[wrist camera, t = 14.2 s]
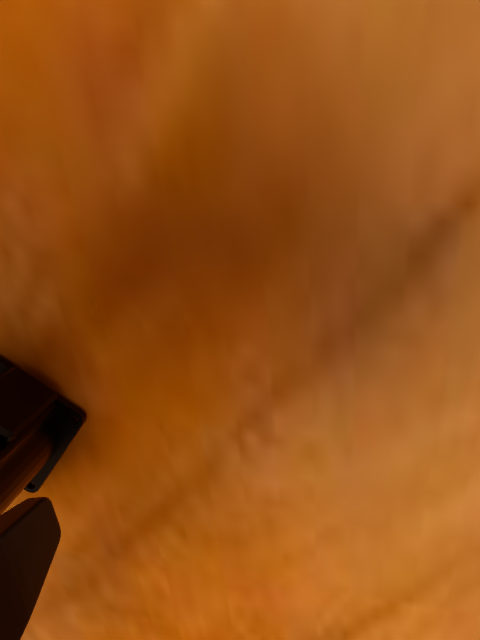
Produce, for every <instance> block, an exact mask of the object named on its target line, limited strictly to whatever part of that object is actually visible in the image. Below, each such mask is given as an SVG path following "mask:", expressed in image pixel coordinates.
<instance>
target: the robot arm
mask: <svg viewBox="0 0 480 640" xmlns="http://www.w3.org/2000/svg"><path fill="white" fill-rule="evenodd" d="M73 416H75V417H77V418H78V420H75V419H74V417H73ZM85 421H86V415H85V413H84V412H83V411H82V410H81V409H79V408H78V407H76V406H75V405H73V404H72V403H70V402H69V401H67V400H66V399H64V398H63V397H61V396H60V395H58V394H57V393H55V392H54V391H52V390H51V389H49V388H48V387H46V386H45V385H43V384H42V383H40V382H39V381H37V380H36V379H34V378H33V377H31V376H30V375H28V374H27V373H25V372H24V371H22V370H20V369H19V368H17V367H16V366H14V365H13V364H11V363H10V362H8V361H7V360H5V359H4V358H2V357H1V356H0V640H20V639H21V637H22V635H23V633H24V630H25V628H26V626H27V624H28V622H29V619H30V617H31V615H32V612H33V610H34V607H35V605H36V602H37V599H38V597H39V594H40V592H41V589H42V586H43V584H44V581H45V578H46V576H47V573H48V570H49V568H50V565H51V563H52V560H53V557H54V555H55V552H56V549H57V547H58V544H59V541H60V537H61V529H60V525H59V522H58V519H57V517H56V514H55V511H54V508H53V505H52V502H51V501H50V499H49V498H46V497H37V498H29V499H26V500H25V501H23V502H21V503H20V504H18V505H16V506H15V507H13V508H12V509H10V510H8V511H7V512H5V513H3V512H4V510H5V509H6V508H7V507H8V506H9V505H10V504H11V502H12V501H13V500H14V499H15V498H16V497H17V496H18V495H19V493H20V492H21V491H22V490H23V489H24V490H26V491H28V492H31V493H34V492H37V491H38V490H39V488H40V487H41V486H42V485H43V483H44V482H45V480H46V479H47V477H48V476H49V474H50V473H51V471H52V470H53V468H54V467H55V465H56V464H57V462H58V461H59V459H60V458H61V457H62V455H63V454H64V452H65V451H66V449H67V448H68V446H69V445H70V443H71V442H72V440H73V439H74V437H75V436H76V434H77V433H78V431H79V430H80V428H81V427H82V425H83V424H84V423H85ZM31 482H32V483H33V484H32V483H31ZM2 513H3V514H2ZM1 514H2V515H1Z"/></svg>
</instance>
